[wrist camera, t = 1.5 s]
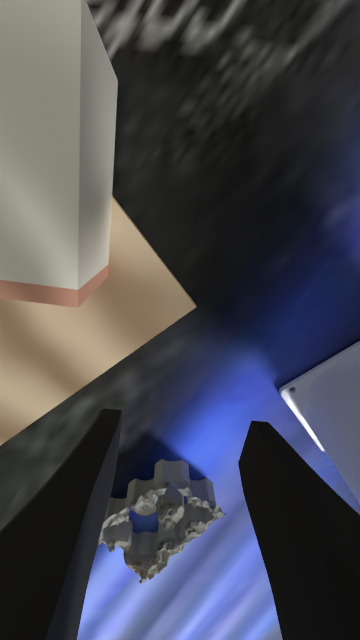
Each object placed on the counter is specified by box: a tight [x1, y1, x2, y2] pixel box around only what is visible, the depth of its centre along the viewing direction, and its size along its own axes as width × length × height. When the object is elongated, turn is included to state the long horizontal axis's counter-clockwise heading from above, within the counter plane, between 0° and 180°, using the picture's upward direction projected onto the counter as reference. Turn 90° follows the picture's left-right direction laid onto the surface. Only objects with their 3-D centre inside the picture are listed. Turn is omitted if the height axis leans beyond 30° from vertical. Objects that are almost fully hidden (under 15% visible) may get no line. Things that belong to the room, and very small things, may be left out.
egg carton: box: [98, 459, 226, 583], centre depth 24 cm, size 11×8×4 cm
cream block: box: [0, 0, 118, 308], centre depth 12 cm, size 4×6×10 cm
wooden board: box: [0, 195, 196, 445], centre depth 18 cm, size 20×14×1 cm
